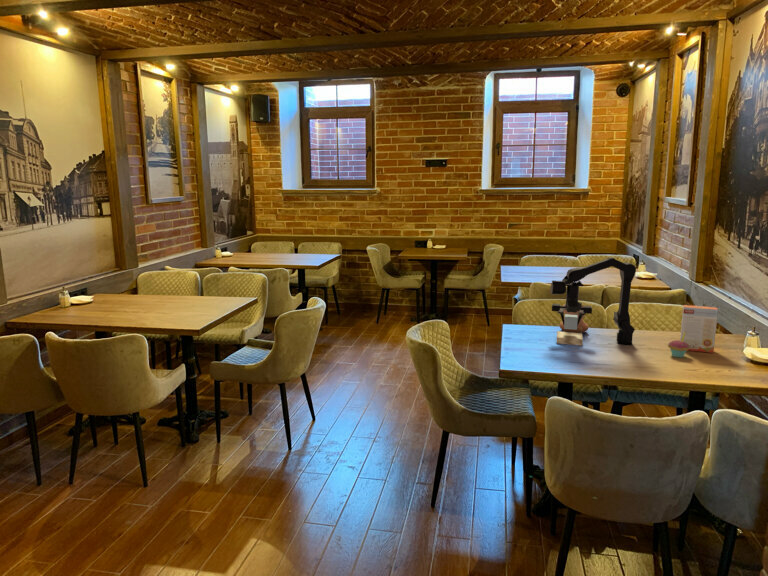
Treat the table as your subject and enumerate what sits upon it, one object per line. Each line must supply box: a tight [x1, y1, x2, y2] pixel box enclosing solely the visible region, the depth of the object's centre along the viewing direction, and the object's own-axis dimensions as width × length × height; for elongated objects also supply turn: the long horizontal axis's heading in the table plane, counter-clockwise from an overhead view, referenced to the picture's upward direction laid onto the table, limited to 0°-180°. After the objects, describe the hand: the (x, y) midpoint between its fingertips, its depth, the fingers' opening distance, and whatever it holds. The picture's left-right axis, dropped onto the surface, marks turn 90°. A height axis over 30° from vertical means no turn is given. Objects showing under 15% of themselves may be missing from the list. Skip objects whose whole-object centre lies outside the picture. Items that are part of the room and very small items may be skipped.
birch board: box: [556, 330, 584, 346], centre depth 277 cm, size 12×12×3 cm
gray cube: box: [564, 313, 578, 330], centre depth 276 cm, size 6×6×6 cm
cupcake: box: [667, 332, 690, 358], centre depth 253 cm, size 9×8×12 cm
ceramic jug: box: [559, 303, 589, 334], centre depth 294 cm, size 18×14×14 cm
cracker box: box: [679, 304, 719, 354], centre depth 261 cm, size 14×6×21 cm, turn 65°
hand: (570, 325), depth 276 cm, fingers closed on gray cube, 6 cm apart
